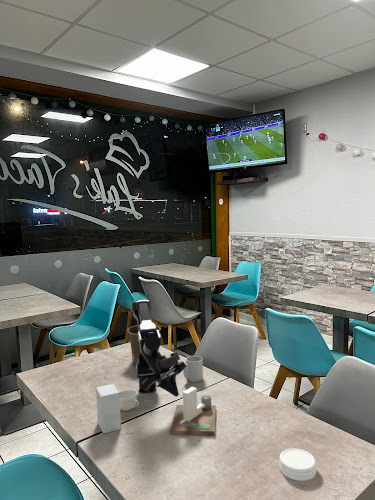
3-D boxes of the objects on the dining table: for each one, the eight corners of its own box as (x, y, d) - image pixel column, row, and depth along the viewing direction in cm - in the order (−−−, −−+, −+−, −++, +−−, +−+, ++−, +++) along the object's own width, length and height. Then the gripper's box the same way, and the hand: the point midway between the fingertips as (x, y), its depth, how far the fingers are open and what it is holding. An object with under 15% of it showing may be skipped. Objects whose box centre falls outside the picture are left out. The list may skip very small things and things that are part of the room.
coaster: (309, 458, 115) (309, 446, 114) (321, 481, 105) (321, 469, 105) (275, 459, 115) (275, 448, 114) (284, 483, 105) (284, 470, 104)
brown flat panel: (170, 434, 128) (170, 429, 128) (176, 408, 145) (176, 404, 145) (214, 435, 127) (214, 430, 127) (215, 409, 144) (215, 404, 144)
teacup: (112, 409, 146) (111, 395, 146) (126, 401, 152) (126, 387, 152) (131, 417, 140) (130, 402, 140) (145, 408, 147) (145, 394, 146)
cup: (206, 378, 171) (205, 358, 170) (190, 385, 164) (189, 365, 163) (194, 373, 176) (194, 354, 175) (178, 380, 169) (177, 360, 169)
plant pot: (168, 359, 194) (167, 328, 192) (143, 370, 182) (142, 336, 180) (147, 352, 205) (145, 322, 203) (122, 361, 193) (120, 329, 191)
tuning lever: (205, 403, 145) (204, 378, 144) (213, 406, 142) (212, 380, 141) (176, 422, 132) (175, 394, 131) (184, 426, 130) (183, 397, 129)
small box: (121, 429, 133) (119, 392, 131) (103, 434, 130) (101, 396, 129) (115, 418, 140) (113, 383, 139) (97, 422, 137) (95, 387, 136)
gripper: (146, 354, 133) (170, 394, 127) (182, 340, 147) (206, 375, 141) (131, 371, 139) (154, 410, 133) (167, 355, 153) (190, 390, 147)
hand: (177, 395), depth 138 cm, fingers closed
